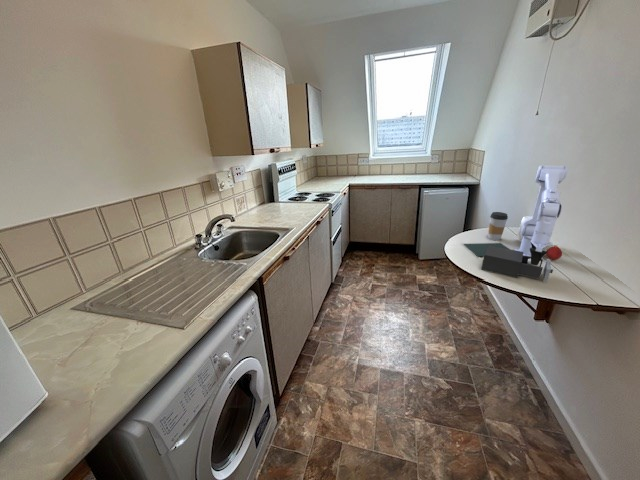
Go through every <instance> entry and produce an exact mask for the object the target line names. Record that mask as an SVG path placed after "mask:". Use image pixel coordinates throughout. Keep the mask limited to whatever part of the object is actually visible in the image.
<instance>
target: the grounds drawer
mask: <svg viewBox="0 0 640 480" xmlns="http://www.w3.org/2000/svg"><path fill="white" fill-rule="evenodd" d="M530 258H531V257H530V256H524V255H523V258H522V263H521V267H520V270H519V274H518V276H524V277H528V278H532V279H537V280H540V278H541V276H543V277H542V282H544V283H548V280H549V277H550V275H551V274H553V272H554V269H552V260H550V259H549V258H547V259H546V261H545V263H544V267H543V266H542V264H543V262H544V259H543V258H542V259H541V260H540V261H541V264H540V267H538V266H534V265H529V264H527V261H528V259H530ZM542 273H543V275H542Z"/></svg>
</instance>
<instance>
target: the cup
mask: <svg viewBox="0 0 640 480" xmlns="http://www.w3.org/2000/svg"><path fill="white" fill-rule="evenodd" d="M531 217H532V216H530V215H525V216H523V217H522V219H521V221H520V224H519V228H518V233H517V238H516V241H518V242H520V243H521V242H522V239H523V235H521V229H522V225H523V223H524V221H525V220H526V219H529V218H531ZM534 225H536V224H534Z"/></svg>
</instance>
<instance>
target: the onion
mask: <svg viewBox="0 0 640 480" xmlns="http://www.w3.org/2000/svg"><path fill="white" fill-rule="evenodd" d="M546 251H547V254H546V255H545V256H546V257H547V259H550V260H551V262H552V261H557V260H559V259H560V258H562V256H563V251H562V249H561V248H560V247H559V246H558V244H555V245H553V246H551V247H548V248H547V249H546Z"/></svg>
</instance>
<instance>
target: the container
mask: <svg viewBox="0 0 640 480" xmlns="http://www.w3.org/2000/svg"><path fill="white" fill-rule="evenodd" d="M527 264H529V265H532V264H531V258H530V259H528V261H527ZM540 264H541V261H540V262H539V263H538V265H534V266H538V267H540Z"/></svg>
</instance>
